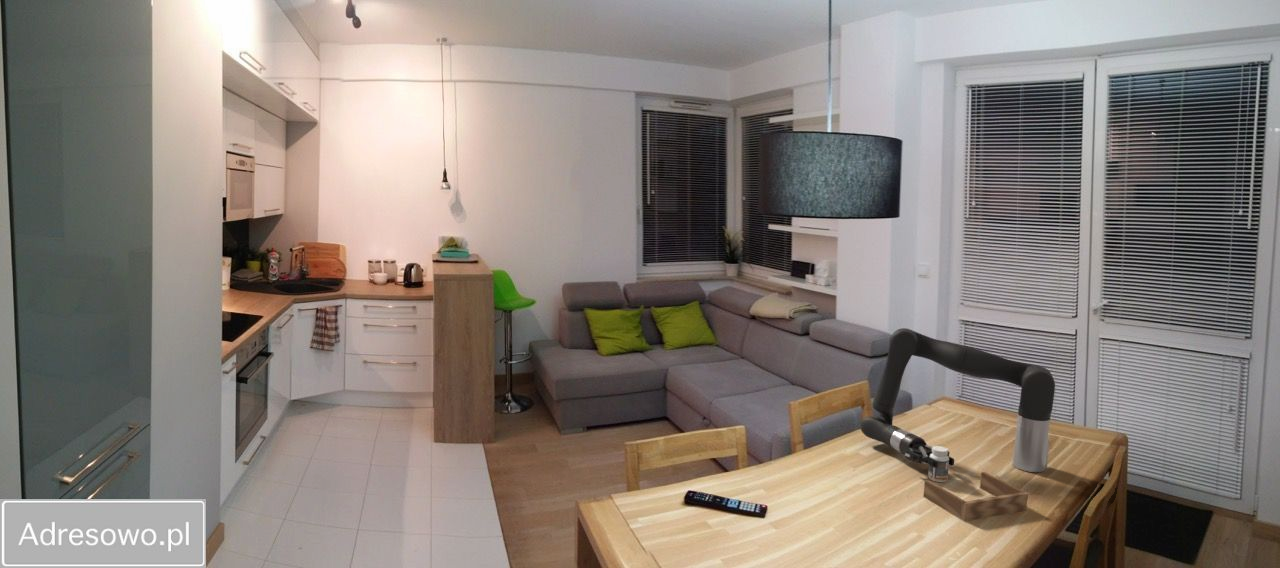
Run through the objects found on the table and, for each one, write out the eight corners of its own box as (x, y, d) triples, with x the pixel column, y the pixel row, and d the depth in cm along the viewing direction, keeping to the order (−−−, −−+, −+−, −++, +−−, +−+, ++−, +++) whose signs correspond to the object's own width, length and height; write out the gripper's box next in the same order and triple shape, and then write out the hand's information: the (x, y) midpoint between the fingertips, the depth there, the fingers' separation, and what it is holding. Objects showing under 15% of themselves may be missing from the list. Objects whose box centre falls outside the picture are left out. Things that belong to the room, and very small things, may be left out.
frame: (983, 487, 221) (984, 471, 220) (1026, 510, 206) (1028, 493, 205) (923, 496, 213) (924, 480, 213) (963, 521, 199) (965, 503, 198)
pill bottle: (949, 478, 226) (952, 448, 225) (943, 484, 222) (946, 453, 221) (931, 473, 230) (934, 443, 229) (924, 479, 226) (927, 448, 224)
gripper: (890, 435, 236) (927, 454, 220) (926, 431, 240) (964, 449, 225) (888, 457, 237) (925, 478, 221) (924, 452, 242) (962, 472, 226)
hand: (945, 463), depth 223 cm, fingers closed on pill bottle, 5 cm apart
